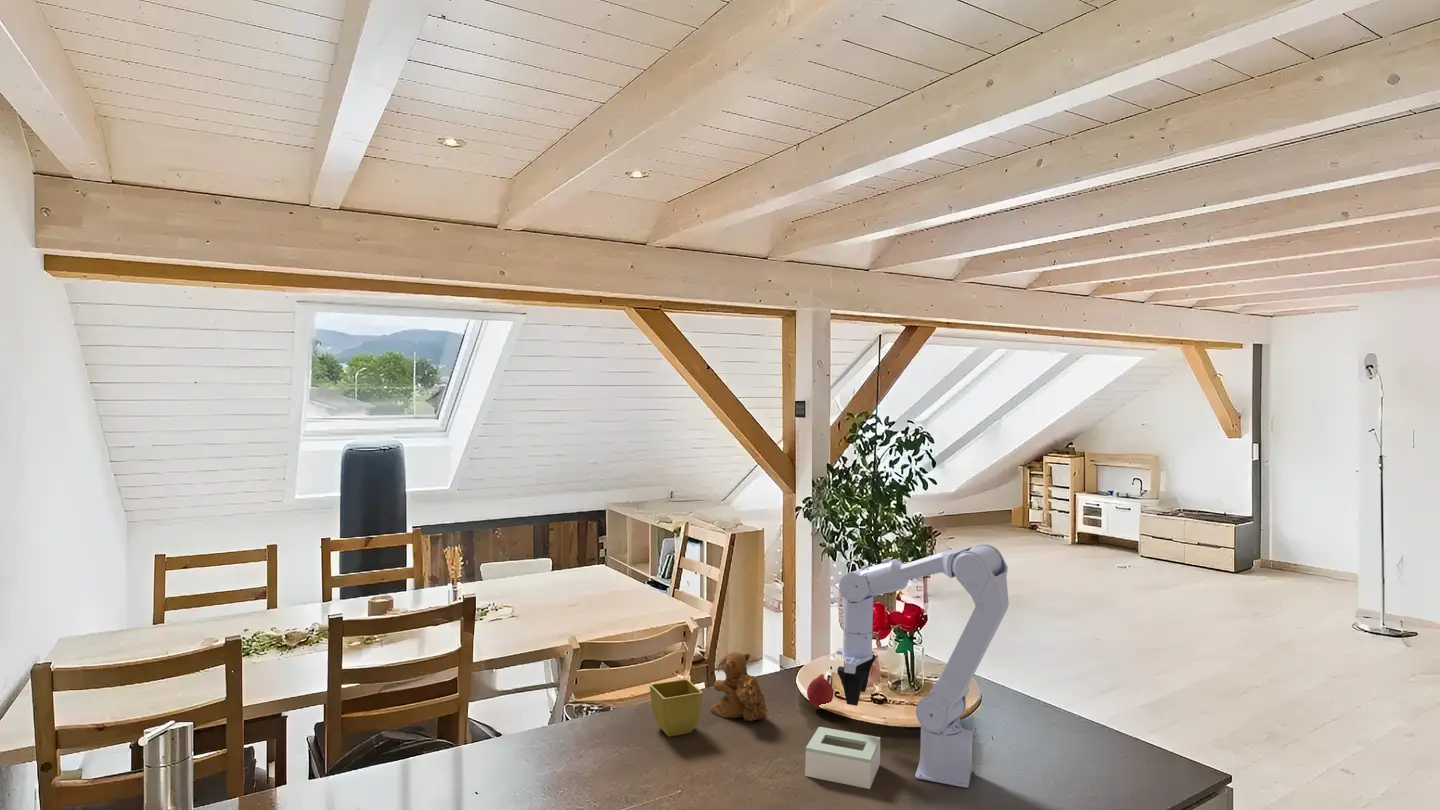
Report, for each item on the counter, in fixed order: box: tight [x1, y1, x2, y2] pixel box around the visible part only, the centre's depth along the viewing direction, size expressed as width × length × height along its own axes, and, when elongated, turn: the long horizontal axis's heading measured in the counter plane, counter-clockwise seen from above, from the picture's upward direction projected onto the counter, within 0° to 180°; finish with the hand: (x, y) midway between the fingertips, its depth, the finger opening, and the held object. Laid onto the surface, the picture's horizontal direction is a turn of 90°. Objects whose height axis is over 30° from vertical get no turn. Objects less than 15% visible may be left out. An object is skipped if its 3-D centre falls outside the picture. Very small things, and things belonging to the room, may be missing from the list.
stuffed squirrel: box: [710, 651, 769, 722], centre depth 176 cm, size 10×14×13 cm
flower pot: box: [649, 678, 704, 737], centre depth 167 cm, size 9×9×9 cm
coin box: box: [804, 726, 881, 790], centre depth 151 cm, size 12×10×5 cm
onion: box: [806, 673, 834, 710], centre depth 179 cm, size 6×6×8 cm
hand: (856, 697), depth 161 cm, fingers open, 7 cm apart
